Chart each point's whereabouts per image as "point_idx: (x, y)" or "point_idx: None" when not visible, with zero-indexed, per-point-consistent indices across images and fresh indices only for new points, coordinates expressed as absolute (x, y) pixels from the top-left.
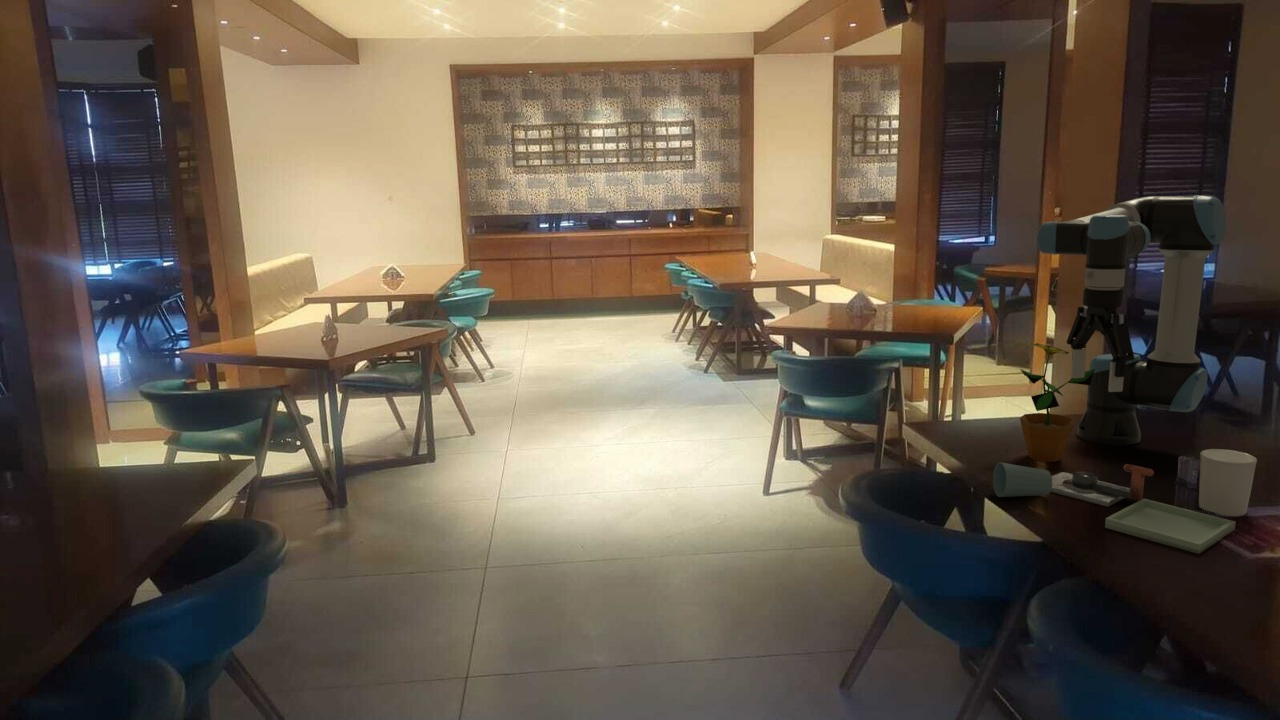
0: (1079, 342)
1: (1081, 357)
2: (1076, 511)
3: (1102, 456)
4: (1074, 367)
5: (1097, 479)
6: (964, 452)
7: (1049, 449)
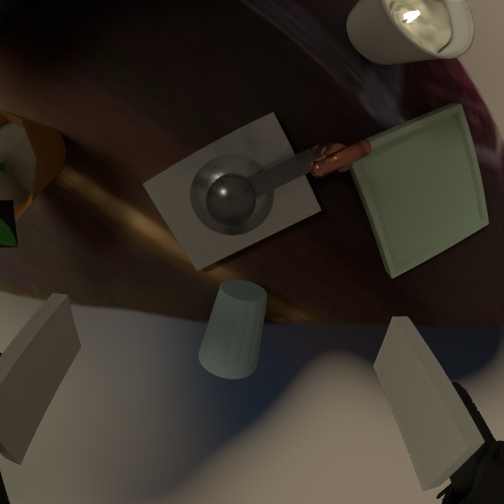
0: (2, 501)
1: (20, 399)
2: (317, 267)
3: (59, 42)
4: (57, 382)
5: (247, 182)
6: (23, 273)
7: (55, 167)
